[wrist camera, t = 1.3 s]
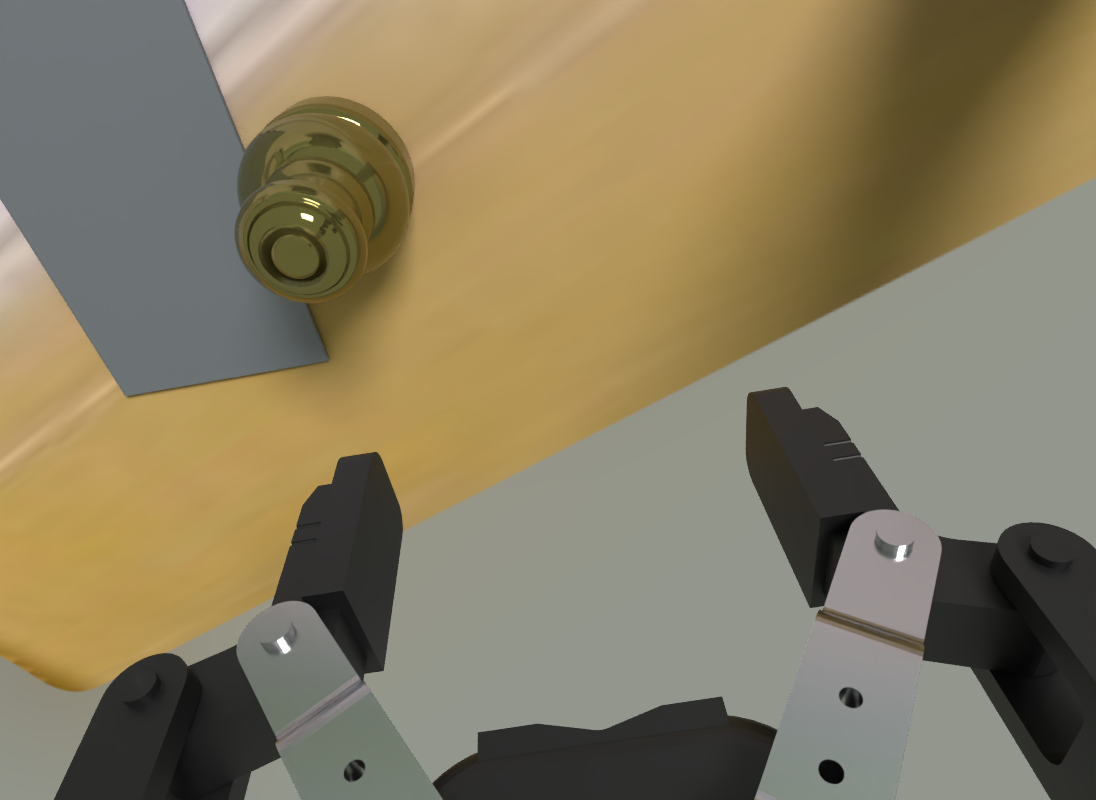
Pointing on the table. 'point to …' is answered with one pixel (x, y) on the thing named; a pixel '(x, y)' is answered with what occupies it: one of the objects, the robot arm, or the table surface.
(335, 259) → the brass door knob
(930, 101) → the table surface
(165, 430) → the table surface
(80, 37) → the mat
